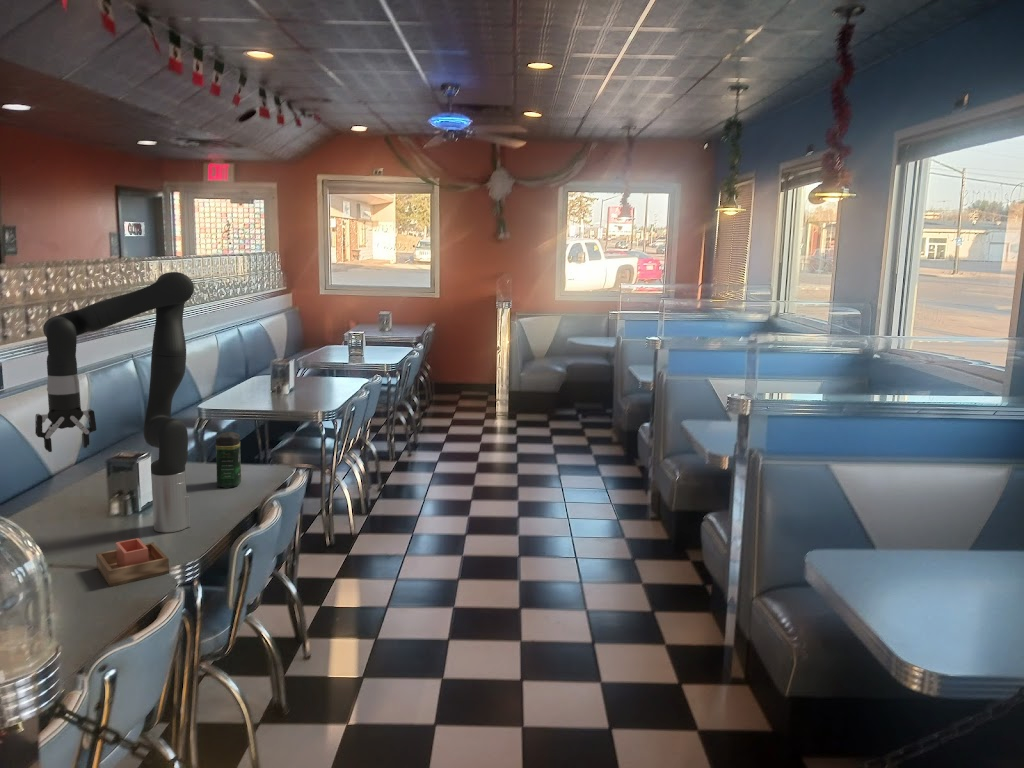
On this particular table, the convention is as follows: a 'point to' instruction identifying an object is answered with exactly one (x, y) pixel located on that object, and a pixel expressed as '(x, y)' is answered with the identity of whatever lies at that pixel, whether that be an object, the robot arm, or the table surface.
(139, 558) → the red open box
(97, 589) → the table surface
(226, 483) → the coffee jar
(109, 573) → the wooden crate
